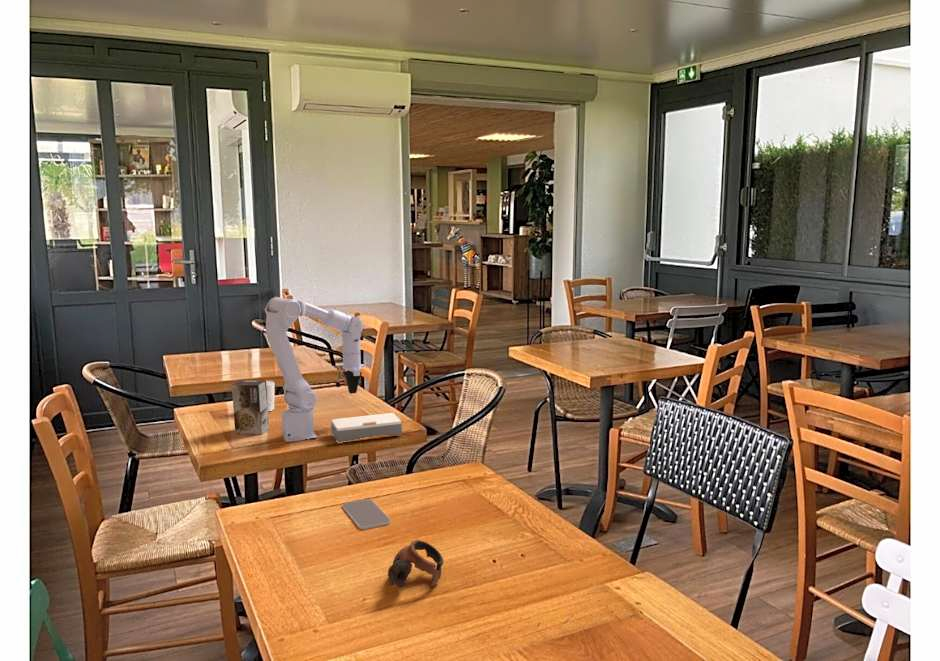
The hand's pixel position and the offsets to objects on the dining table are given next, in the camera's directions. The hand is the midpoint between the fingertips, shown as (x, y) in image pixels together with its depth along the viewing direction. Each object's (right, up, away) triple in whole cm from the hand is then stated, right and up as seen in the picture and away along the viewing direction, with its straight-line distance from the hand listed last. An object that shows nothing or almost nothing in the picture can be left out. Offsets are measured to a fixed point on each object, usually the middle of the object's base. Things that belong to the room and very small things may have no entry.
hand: (352, 392), depth 232 cm
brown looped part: (+27, -27, -99) cm, 106 cm away
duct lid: (+6, -8, -11) cm, 15 cm away
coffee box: (-31, -12, -6) cm, 34 cm away
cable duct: (+6, -12, -11) cm, 17 cm away
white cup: (-34, -8, +17) cm, 39 cm away
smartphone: (+14, -23, -69) cm, 74 cm away
